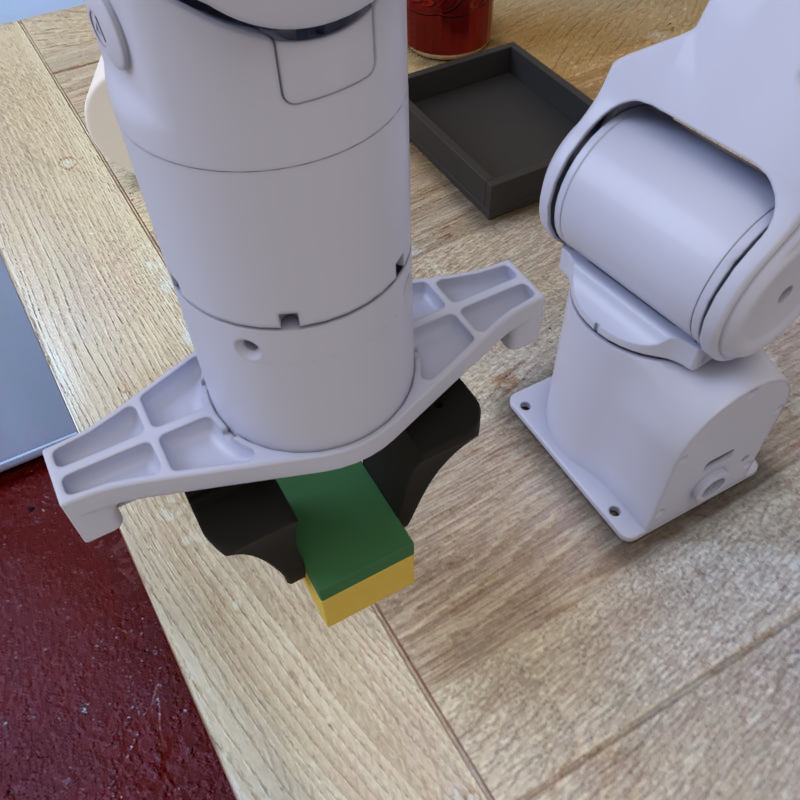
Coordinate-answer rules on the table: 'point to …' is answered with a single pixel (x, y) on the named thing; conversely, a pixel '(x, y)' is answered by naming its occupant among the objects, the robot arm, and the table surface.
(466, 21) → the soda can
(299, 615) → the table surface
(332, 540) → the sponge
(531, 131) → the tray
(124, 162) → the mug
